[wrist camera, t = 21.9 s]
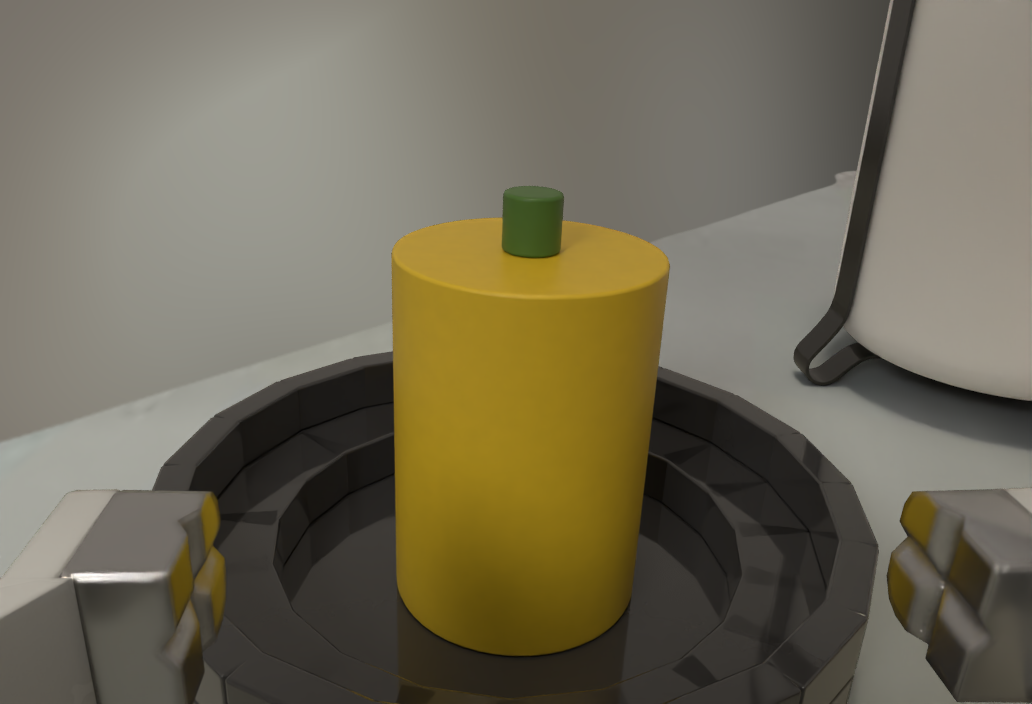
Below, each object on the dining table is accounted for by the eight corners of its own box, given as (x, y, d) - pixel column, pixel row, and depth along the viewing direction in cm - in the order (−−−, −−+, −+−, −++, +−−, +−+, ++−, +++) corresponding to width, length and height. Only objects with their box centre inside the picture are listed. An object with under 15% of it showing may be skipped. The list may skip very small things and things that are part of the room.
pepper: (365, 638, 18) (351, 214, 15) (428, 497, 23) (428, 157, 20) (629, 675, 18) (683, 240, 14) (634, 521, 23) (673, 174, 19)
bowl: (-16, 835, 15) (-61, 676, 13) (312, 420, 29) (306, 324, 27) (941, 997, 13) (1003, 833, 11) (785, 470, 27) (804, 369, 26)
